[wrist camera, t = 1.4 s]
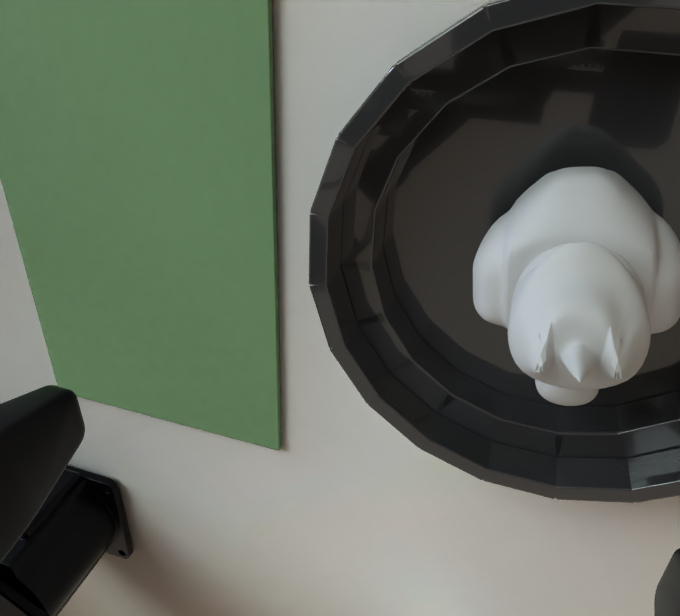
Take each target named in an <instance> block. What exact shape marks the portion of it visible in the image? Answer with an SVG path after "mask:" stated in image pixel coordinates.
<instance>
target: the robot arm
mask: <svg viewBox="0 0 680 616" xmlns="http://www.w3.org/2000/svg"><path fill="white" fill-rule="evenodd" d="M84 433H85V425H84V421H83V418H82V414H81V410H80V407H79V403H78V399H77V396H76V394H75V393H74V392H73V391H72V390H70V389H66V388H62V387H58V386H54V385H49V386H45V387H42V388H40V389H37V390H35V391H32V392H29V393H27V394H24V395H22V396H19V397H17V398H14V399H12V400H9V401H7V402H4V403H2V404H0V616H57V615H58V614H59V613H60V612H61V610H62V609H63V608H64V606H65V605H66V604H67V602H68V601H69V600H70V598H71V597H72V596H73V594H74V593H75V592H76V590H77V589H78V588H79V586H80V585H81V584H82V582H83V581H84V580H85V578H86V577H87V576H88V574H89V573H90V572H91V570H92V569H93V568H94V567H95V565H96V564H97V563H98V561H99V560H100V559H101V557H102V556H103V555H104V553H105V552H107V553H110V554H113V555H115V556H118V557H121V558H125V559H127V558H129V557H130V555H131V554H132V552H133V547H132V543H131V539H130V534H129V530H128V526H127V521H126V517H125V513H124V509H123V504H122V500H121V496H120V491H119V487H118V485H117V484H116V482H115V481H113V480H112V479H109V478H106V477H103V476H100V475H96V474H93V473H90V472H87V471H83V470H80V469H77V468H73V467H70V466H67V465H68V463H69V461H70V460H71V458H72V457H73V455H74V453H75V452H76V450H77V448H78V447H79V445H80V444H81V442H82V440H83V437H84ZM654 609H655V616H680V548H679V549H677V550H676V551H675V552H674V554H673V556H672V558H671V560H670V562H669V564H668V566H667V568H666V570H665V572H664V574H663V576H662V578H661V579H660V581H659V583H658V586H657V589H656V594H655V604H654Z"/></svg>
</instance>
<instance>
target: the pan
mask: <svg viewBox="0 0 680 616" xmlns="http://www.w3.org/2000/svg"><path fill="white" fill-rule="evenodd" d="M568 167H600V168H604V169H607V170H611V171H614V172H616V173H618V174H619V175H620V176H621V177H623V178H624V179H625V180H626V181H627V182H628V183H629V184H630V185H631V186H632V187H634V188H635V189H636V191H637V192H638V193H639V194H640V195H641V196H642V197H643V198H644V200H645V201H646V202H647V204H648V205H649V206H650V208H651V209H652V210H653V211H654V212H655V213H656V214H658V215H659V216H660V217H662V218H663V219H664V220H665V221H666V222H667V223H668V224H669V225H670V226H671V228H672V229H673V231H674V232H675V234H676V236H677V238H678V240H679V242H680V0H489V1H488V2H486V3H485V4H483V5H482V6H480V7H479V8H477V9H475V10H474V11H472V12H471V13H469V14H468V15H466V16H465V17H463V18H462V19H460V20H459V21H457V22H456V23H454V24H453V25H451V26H450V27H448V28H447V29H445V30H444V31H442V32H441V33H439V34H437V35H436V36H434V37H433V38H431V39H430V40H428V41H427V42H425V43H424V44H422V45H421V46H419V47H418V48H416V49H415V50H414V51H412V52H411V53H409V54H408V55H406V56H405V57H404V58H402V59H401V60H399V61H398V62H397V63H396V64H395V65H394V66H392V68H391V69H390V70H389V71H388V73H387V74H386V75H385V76H384V78H383V79H382V80H381V81H380V83H379V84H378V85H377V87H376V88H375V89H374V90H373V92H372V93H371V94H370V95H369V97H368V98H367V99H366V100H365V102H364V103H363V104H362V105H361V107H360V108H359V109H358V110H357V112H356V113H355V114H354V115H353V117H352V118H351V119H350V120H349V122H348V123H347V124H346V125H345V127H344V128H343V129H342V131H341V132H340V133H339V135H338V137H337V138H336V140H335V143H334V146H333V149H332V152H331V154H330V157H329V160H328V163H327V166H326V168H325V171H324V174H323V177H322V180H321V182H320V185H319V188H318V191H317V194H316V196H315V199H314V202H313V205H312V208H311V213H310V241H309V284H310V289H311V292H312V295H313V298H314V301H315V304H316V307H317V310H318V314H319V317H320V320H321V323H322V326H323V329H324V332H325V336H326V339H327V342H328V345H329V348H330V350H331V352H332V353H333V355H334V356H335V358H336V359H337V361H338V362H339V364H340V365H341V366H342V368H343V369H344V371H345V372H346V374H347V375H348V377H349V378H350V380H351V381H352V382H353V384H354V385H355V387H356V388H357V390H358V391H359V393H360V394H361V396H362V397H363V398H364V400H365V401H366V403H368V405H369V406H370V407H371V408H373V409H374V410H375V411H376V412H377V413H378V414H380V415H381V416H382V417H383V418H384V419H385V420H387V421H388V422H389V423H390V424H391V425H392V426H394V427H395V428H396V429H397V430H398V431H399V432H401V433H402V434H403V435H404V436H405V437H406V438H408V439H409V440H410V441H411V442H412V443H414V444H415V445H416V446H417V447H420V449H422V450H423V451H425V452H427V453H429V454H431V455H433V456H435V457H437V458H439V459H441V460H443V461H445V462H447V463H449V464H451V465H453V466H455V467H457V468H459V469H461V470H463V471H465V472H467V473H469V474H471V475H473V476H475V477H476V478H478V479H480V480H484V481H487V482H491V483H494V484H498V485H502V486H506V487H510V488H514V489H518V490H521V491H525V492H529V493H533V494H537V495H541V496H544V497H548V498H552V499H555V498H556V499H559V500H582V501H604V502H627V503H634V502H644V501H650V500H656V499H662V498H667V497H673V496H679V495H680V318H679V319H678V321H677V322H676V323H675V324H674V325H673V326H672V327H671V328H669V329H668V330H666V331H663V332H660V333H654V334H651V338H650V345H649V349H648V353H647V356H646V358H645V360H644V363H643V365H642V366H641V368H640V369H639V370H638V372H637V373H636V374H635V375H634V376H633V377H631V378H630V379H629V380H627V381H625V382H623V383H620V384H618V385H615V386H611V387H607V388H601V389H599V391H598V394H597V395H596V396H595V398H594V399H593V400H592V401H590V402H589V403H586V404H583V405H578V406H564V405H558V404H555V403H552V402H550V401H548V400H546V399H544V398H543V397H542V396H541V395H540V394H539V392H538V390H537V388H536V384H535V379H534V378H532V377H530V376H529V375H527V374H526V373H524V372H523V371H522V370H521V369H520V368H519V367H518V366H517V364H516V363H515V361H514V359H513V357H512V355H511V351H510V347H509V343H508V329H507V328H505V327H503V326H500V325H497V324H493V323H490V322H488V321H486V320H484V319H483V318H482V317H481V316H480V315H479V314H478V312H477V310H476V309H475V306H474V302H473V263H474V259H475V256H476V253H477V251H478V249H479V246H480V244H481V242H482V240H483V238H484V237H485V235H486V233H487V232H488V230H489V229H490V227H491V226H492V225H493V224H494V223H495V222H496V221H497V220H498V219H499V218H500V217H501V216H502V215H504V214H505V213H507V212H508V211H509V210H510V209H511V208H512V206H513V205H514V203H515V202H516V200H517V199H518V198H519V197H520V196H521V195H522V194H523V193H524V192H525V191H526V190H527V189H528V188H529V187H531V186H532V185H533V184H534V183H536V182H537V181H538V180H539V179H540V178H542V177H543V176H544V175H546V174H548V173H550V172H553V171H556V170H559V169H563V168H568Z"/></svg>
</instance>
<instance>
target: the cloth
mask: <svg viewBox="0 0 680 616" xmlns="http://www.w3.org/2000/svg"><path fill="white" fill-rule="evenodd" d="M0 178H1V182H2V186H3V189H4V193H5V197H6V200H7V204H8V207H9V211H10V215H11V218H12V222H13V226H14V229H15V233H16V236H17V240H18V244H19V247H20V251H21V255H22V258H23V262H24V265H25V269H26V273H27V276H28V280H29V284H30V287H31V291H32V294H33V298H34V302H35V305H36V309H37V312H38V316H39V320H40V323H41V327H42V331H43V334H44V338H45V341H46V345H47V349H48V352H49V356H50V360H51V363H52V367H53V370H54V374H55V378H56V381H57V385H58V387H62V388H66V389H70V390H72V391H73V392H74V393H75V394H76V396H78V397H82V398H86V399H89V400H93V401H97V402H100V403H104V404H108V405H112V406H115V407H119V408H123V409H126V410H130V411H134V412H138V413H141V414H145V415H149V416H152V417H156V418H160V419H164V420H167V421H171V422H175V423H178V424H182V425H186V426H190V427H193V428H197V429H201V430H204V431H208V432H212V433H215V434H219V435H223V436H227V437H230V438H234V439H238V440H241V441H245V442H249V443H253V444H256V445H260V446H264V447H267V448H271V449H275V450H280V448H281V405H280V359H279V312H278V265H277V218H276V171H275V124H274V77H273V31H272V0H0Z"/></svg>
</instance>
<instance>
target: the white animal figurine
mask: <svg viewBox="0 0 680 616" xmlns="http://www.w3.org/2000/svg"><path fill="white" fill-rule="evenodd" d="M473 302H474V306H475V309H476V310H477V312H478V314H479V315H480V316H481V317H482V318H483V319H484V320H486V321H488V322H490V323H493V324H497V325H500V326H503V327H505V328H507V329H508V343H509V347H510V351H511V355H512V357H513V359H514V361H515V363H516V364H517V366H518V367H519V368H520V369H521V370H522V371H523V372H524V373H526V374H527V375H529V376H530V377H532V378H534V379H535V384H536V388H537V390H538V392H539V394H540V395H541V396H542V397H543V398H544V399H546V400H548V401H550V402H552V403H555V404H558V405H564V406H578V405H583V404H586V403H589V402H590V401H592V400H593V399H594V398H595V396H596V395H597V394H598V391H599V389H601V388H607V387H611V386H615V385H618V384H620V383H623V382H625V381H627V380H629V379H630V378H631V377H633V376H634V375H635V374H636V373H637V372H638V370H639V369H640V368H641V366H642V365H643V363H644V360H645V358H646V356H647V353H648V349H649V345H650V338H651V334H654V333H660V332H663V331H666V330H668V329H669V328H671V327H672V326H673V325H674V324H675V323H676V322H677V321H678V319H679V318H680V242H679V240H678V238H677V236H676V234H675V232H674V231H673V229H672V228H671V226H670V225H669V224H668V223H667V222H666V221H665V220H664V219H663V218H662V217H660V216H659V215H658V214H656V213H655V212H654V211H653V210H652V209H651V208H650V206H649V205H648V204H647V202H646V201H645V200H644V198H643V197H642V196H641V195H640V194H639V193H638V192H637V191H636V189H635V188H634V187H632V186H631V185H630V184H629V183H628V182H627V181H626V180H625V179H624V178H623V177H621V176H620V175H619V174H618V173H616V172H614V171H611V170H607V169H604V168H600V167H568V168H563V169H559V170H556V171H553V172H550V173H548V174H546V175H544V176H543V177H542V178H540V179H539V180H538V181H537V182H536V183H534V184H533V185H532V186H531V187H529V188H528V189H527V190H526V191H525V192H524V193H523V194H522V195H521V196H520V197H519V198H518V199H517V200H516V202H515V203H514V205H513V206H512V208H511V209H510V210H509V211H508V212H507V213H505V214H504V215H502V216H501V217H500V218H499V219H498V220H497V221H496V222H495V223H494V224H493V225H492V226H491V227H490V229H489V230H488V232H487V233H486V235H485V237H484V238H483V240H482V242H481V244H480V246H479V249H478V251H477V253H476V256H475V259H474V263H473Z"/></svg>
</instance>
